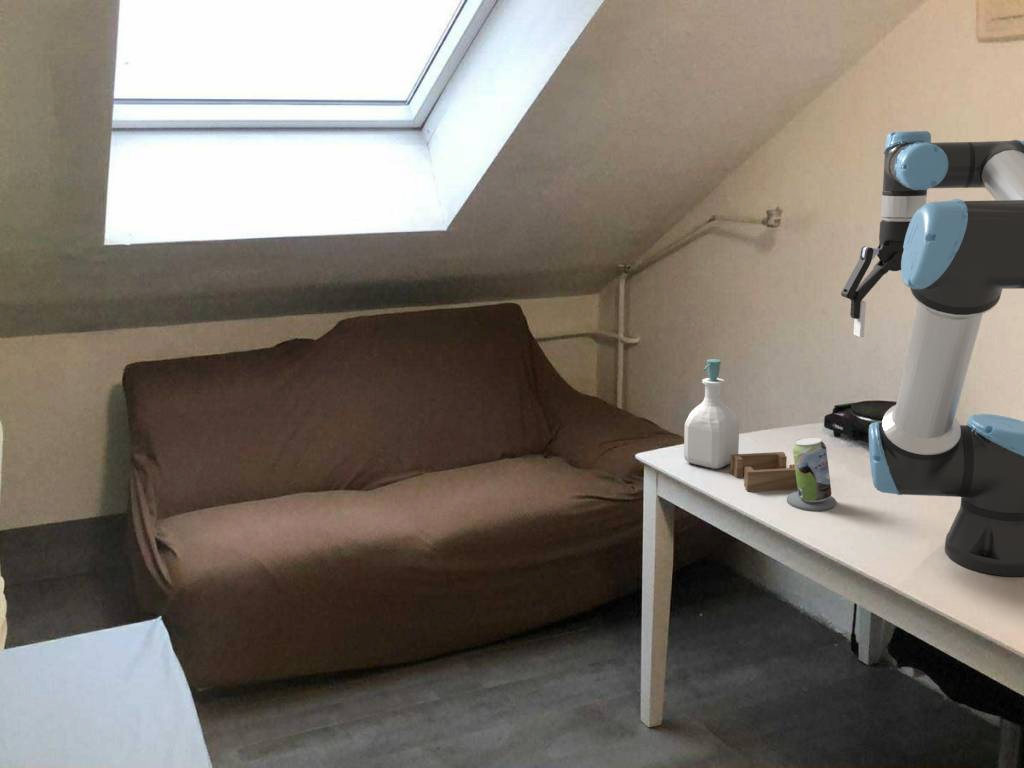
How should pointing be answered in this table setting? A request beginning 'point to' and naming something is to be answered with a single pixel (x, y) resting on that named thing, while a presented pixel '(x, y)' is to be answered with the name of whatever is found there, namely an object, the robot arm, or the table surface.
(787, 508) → the table surface
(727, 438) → the soap bottle
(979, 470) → the robot arm
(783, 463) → the caddy
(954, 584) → the table surface
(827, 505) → the coaster
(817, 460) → the beverage can
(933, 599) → the table surface
